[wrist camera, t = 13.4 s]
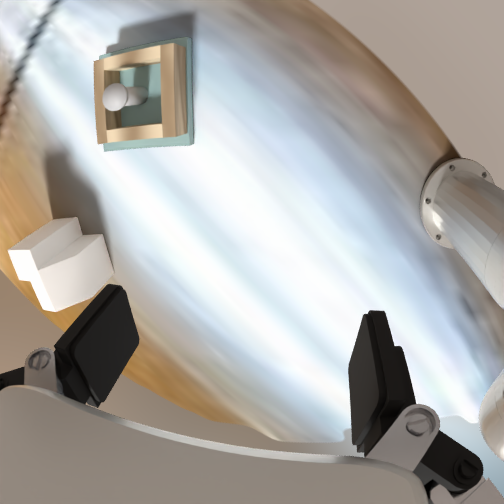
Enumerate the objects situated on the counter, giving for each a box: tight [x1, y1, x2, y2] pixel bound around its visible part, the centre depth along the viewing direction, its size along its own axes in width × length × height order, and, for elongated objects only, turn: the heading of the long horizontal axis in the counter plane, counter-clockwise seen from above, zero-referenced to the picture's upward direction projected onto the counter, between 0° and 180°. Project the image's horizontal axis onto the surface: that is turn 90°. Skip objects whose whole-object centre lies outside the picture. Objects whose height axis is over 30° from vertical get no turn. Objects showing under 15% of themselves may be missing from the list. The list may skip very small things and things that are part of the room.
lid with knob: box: [99, 37, 194, 152], centre depth 31 cm, size 13×14×8 cm
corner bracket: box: [8, 217, 114, 312], centre depth 42 cm, size 11×11×12 cm
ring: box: [94, 43, 187, 144], centre depth 31 cm, size 11×11×4 cm
